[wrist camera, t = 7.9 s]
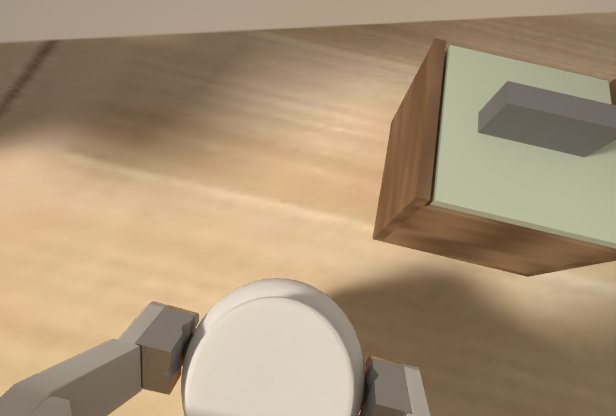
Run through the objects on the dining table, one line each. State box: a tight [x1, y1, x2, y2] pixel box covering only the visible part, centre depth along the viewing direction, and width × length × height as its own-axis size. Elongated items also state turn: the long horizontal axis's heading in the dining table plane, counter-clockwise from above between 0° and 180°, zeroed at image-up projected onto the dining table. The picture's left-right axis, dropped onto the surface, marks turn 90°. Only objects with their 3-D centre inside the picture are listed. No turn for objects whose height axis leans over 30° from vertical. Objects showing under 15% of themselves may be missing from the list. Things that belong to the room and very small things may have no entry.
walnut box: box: [373, 39, 616, 276], centre depth 21 cm, size 12×11×9 cm
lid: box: [430, 45, 616, 249], centre depth 17 cm, size 10×11×3 cm
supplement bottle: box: [181, 278, 365, 416], centre depth 12 cm, size 6×6×10 cm
